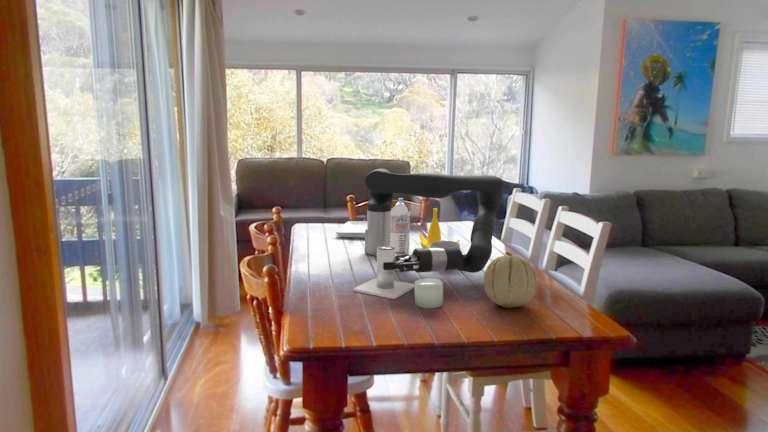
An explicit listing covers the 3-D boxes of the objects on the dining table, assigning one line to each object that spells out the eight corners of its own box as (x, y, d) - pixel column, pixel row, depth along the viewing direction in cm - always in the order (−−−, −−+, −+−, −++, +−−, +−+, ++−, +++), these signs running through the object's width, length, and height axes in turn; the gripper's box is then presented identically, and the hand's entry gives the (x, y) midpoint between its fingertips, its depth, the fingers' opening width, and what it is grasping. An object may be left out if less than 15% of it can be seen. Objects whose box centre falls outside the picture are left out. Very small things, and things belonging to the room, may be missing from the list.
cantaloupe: (502, 318, 134) (505, 263, 132) (471, 301, 148) (474, 250, 145) (546, 311, 140) (550, 258, 138) (513, 295, 154) (516, 246, 151)
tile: (353, 291, 155) (353, 288, 154) (376, 279, 167) (376, 277, 167) (394, 299, 148) (394, 296, 148) (415, 286, 160) (415, 284, 160)
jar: (417, 309, 141) (416, 288, 140) (413, 298, 149) (412, 279, 147) (445, 307, 141) (445, 286, 140) (440, 297, 149) (440, 277, 148)
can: (372, 287, 156) (373, 248, 154) (381, 282, 161) (382, 244, 159) (389, 290, 154) (389, 250, 151) (397, 285, 158) (398, 246, 156)
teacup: (458, 269, 180) (459, 247, 179) (427, 267, 183) (428, 245, 181) (460, 260, 194) (461, 239, 193) (431, 258, 196) (432, 237, 195)
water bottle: (411, 267, 183) (413, 197, 178) (405, 272, 176) (407, 200, 172) (393, 265, 185) (394, 196, 181) (386, 269, 178) (388, 199, 174)
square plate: (347, 227, 254) (347, 220, 253) (402, 230, 250) (402, 222, 250) (335, 239, 227) (335, 230, 227) (396, 242, 224) (396, 233, 223)
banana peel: (420, 252, 205) (421, 211, 203) (419, 242, 224) (420, 204, 221) (462, 253, 205) (463, 212, 202) (456, 243, 224) (458, 205, 221)
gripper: (422, 243, 166) (373, 245, 161) (438, 253, 152) (386, 256, 148) (421, 265, 167) (373, 268, 163) (437, 277, 154) (385, 281, 149)
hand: (379, 262), depth 155 cm, fingers open, 8 cm apart
